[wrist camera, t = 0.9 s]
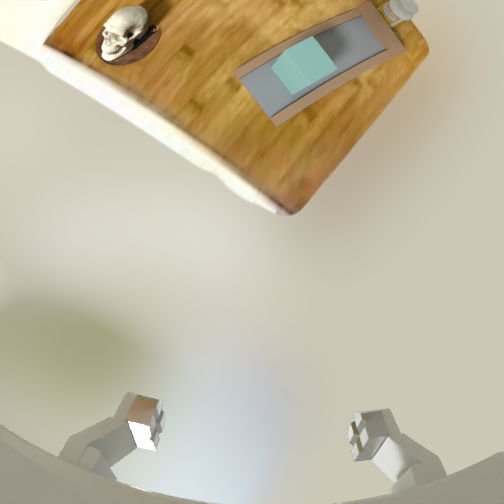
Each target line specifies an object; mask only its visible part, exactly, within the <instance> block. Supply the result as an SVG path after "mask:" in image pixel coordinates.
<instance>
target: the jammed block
mask: <svg viewBox="0 0 504 504" xmlns="http://www.w3.org/2000/svg"><path fill="white" fill-rule="evenodd" d="M271 69H272V70H273V71H274V73H275V74H276V75H277V76H278V78H279V79H280V80H281V81H282V83H283V84H284V85H285V87H286V88H287V89H288V91H289V92H290V93H291V94H292V95H294V94H295V93H297V92H299V91H300V90H302V89H304V88H306V87H307V86H309V85H311V84H313V83H314V82H316V81H318V80H319V79H321V78H323V77H324V76H326V75H328V74H330V73H331V72H333V71H335V70H337V69H338V68H337V67H336V66H335V64H334V63H333V62H332V60H331V59H330V58H329V56H328V55H327V54H326V52H325V51H324V50H323V48H322V47H321V46H320V45H319V43H318V42H317V41H316V40H315V38H314V37H313V36H311V37H309V38H307V39H305V40H303V41H301V42H299V43H297V44H296V45H294V46H292V47H290V48H288V49H286V50H285V51H284V52H283V53H282V54H281V56H280V57H279V58H278V59H277V61H276V62H275V63H274V64H273V66H272V67H271Z"/></svg>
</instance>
